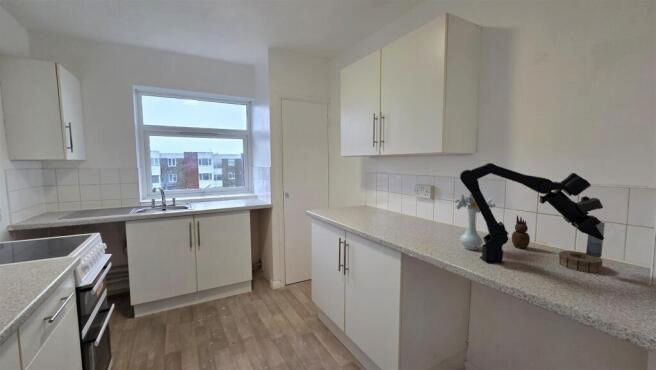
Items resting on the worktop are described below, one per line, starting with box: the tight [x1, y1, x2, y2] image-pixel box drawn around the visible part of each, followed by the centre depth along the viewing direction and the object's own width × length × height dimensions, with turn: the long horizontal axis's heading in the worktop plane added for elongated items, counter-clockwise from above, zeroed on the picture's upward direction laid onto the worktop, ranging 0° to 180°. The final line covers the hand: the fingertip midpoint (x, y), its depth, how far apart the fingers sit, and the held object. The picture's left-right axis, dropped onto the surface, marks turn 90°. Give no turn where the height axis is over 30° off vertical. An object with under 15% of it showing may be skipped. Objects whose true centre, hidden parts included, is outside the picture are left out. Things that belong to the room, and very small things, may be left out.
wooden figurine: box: [511, 214, 531, 250], centre depth 129 cm, size 7×6×15 cm
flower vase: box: [454, 193, 496, 251], centre depth 130 cm, size 13×18×25 cm
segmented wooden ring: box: [558, 250, 603, 274], centre depth 107 cm, size 12×12×4 cm
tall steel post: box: [585, 221, 606, 258], centre depth 99 cm, size 4×4×12 cm
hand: (600, 237), depth 99 cm, fingers closed on tall steel post, 4 cm apart
